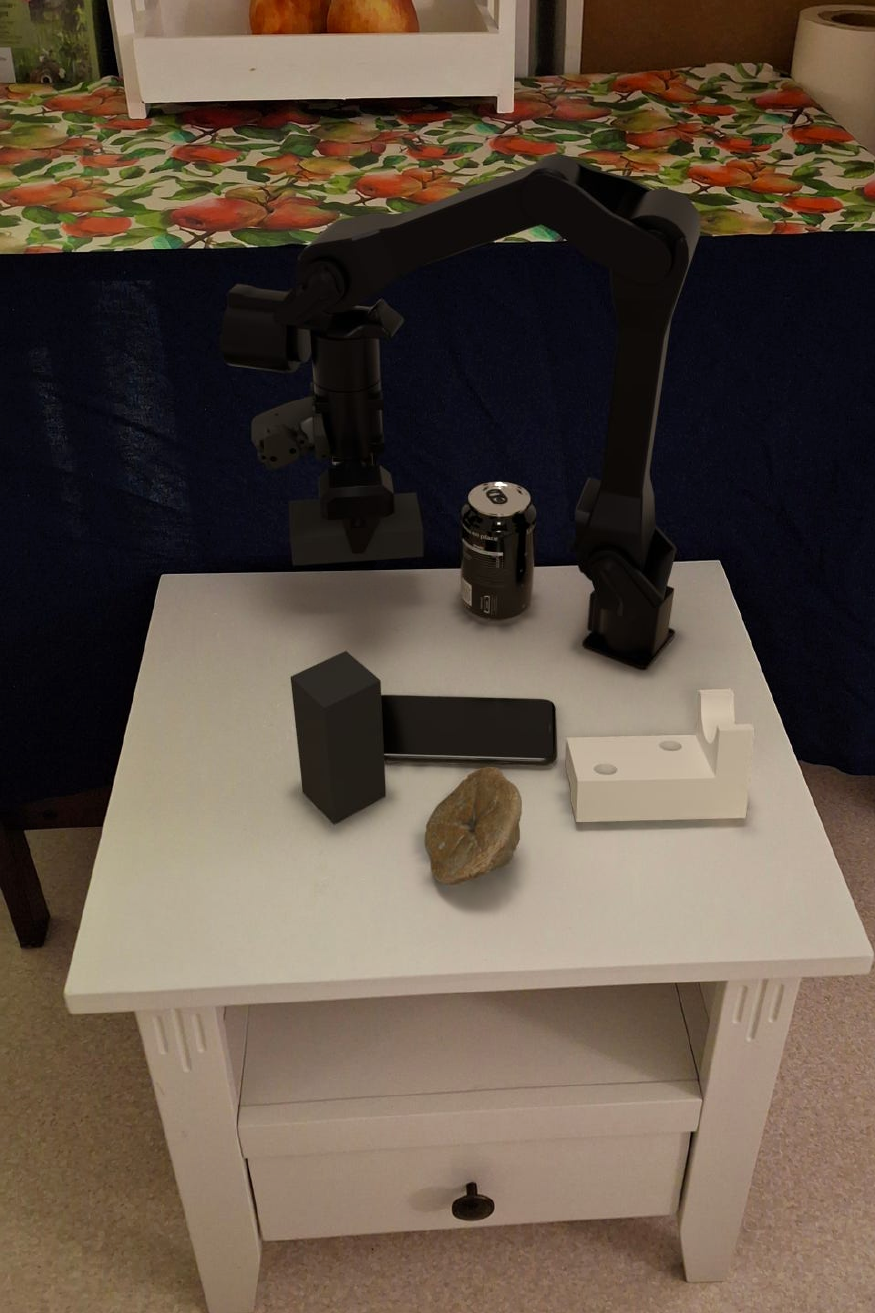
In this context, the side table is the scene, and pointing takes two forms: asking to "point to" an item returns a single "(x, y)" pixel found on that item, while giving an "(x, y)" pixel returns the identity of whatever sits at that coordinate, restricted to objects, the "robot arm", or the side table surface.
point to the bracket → (666, 770)
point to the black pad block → (339, 735)
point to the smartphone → (469, 730)
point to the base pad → (329, 541)
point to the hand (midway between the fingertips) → (356, 532)
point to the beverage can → (497, 551)
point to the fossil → (474, 827)
